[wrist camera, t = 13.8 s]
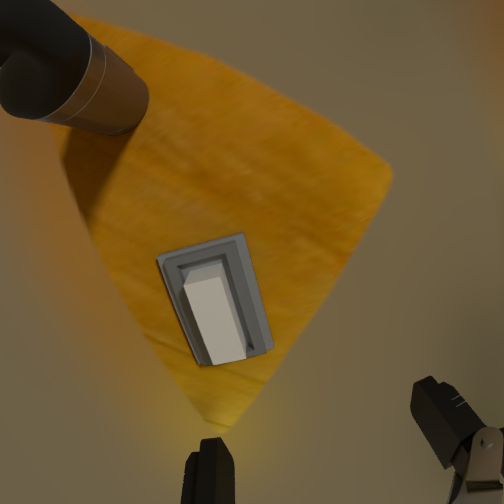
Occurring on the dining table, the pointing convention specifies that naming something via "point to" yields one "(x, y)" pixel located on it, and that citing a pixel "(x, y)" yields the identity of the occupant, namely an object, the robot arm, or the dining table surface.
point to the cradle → (240, 283)
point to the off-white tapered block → (216, 314)
